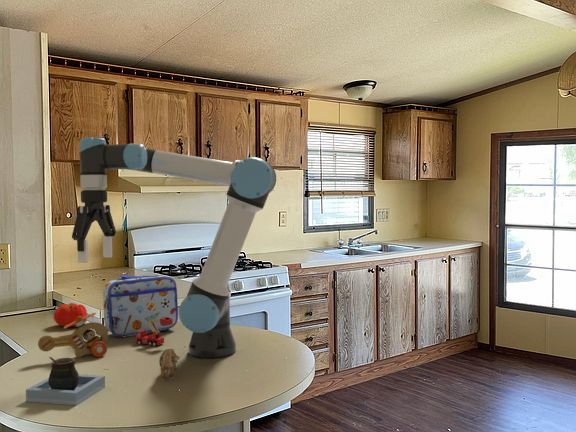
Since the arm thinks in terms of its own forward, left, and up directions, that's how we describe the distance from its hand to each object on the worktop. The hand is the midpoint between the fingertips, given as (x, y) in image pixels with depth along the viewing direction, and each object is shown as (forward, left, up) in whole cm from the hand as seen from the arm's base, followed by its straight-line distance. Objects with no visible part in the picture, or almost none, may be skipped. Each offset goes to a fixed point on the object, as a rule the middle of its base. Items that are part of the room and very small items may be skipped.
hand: (95, 259), depth 168 cm
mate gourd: (-6, +26, -31) cm, 41 cm away
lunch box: (+5, -37, -32) cm, 50 cm away
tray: (-6, +25, -32) cm, 41 cm away
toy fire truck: (-7, -23, -32) cm, 40 cm away
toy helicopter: (+11, -5, -32) cm, 34 cm away
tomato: (+38, -43, -32) cm, 66 cm away
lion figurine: (-26, +7, -32) cm, 42 cm away
